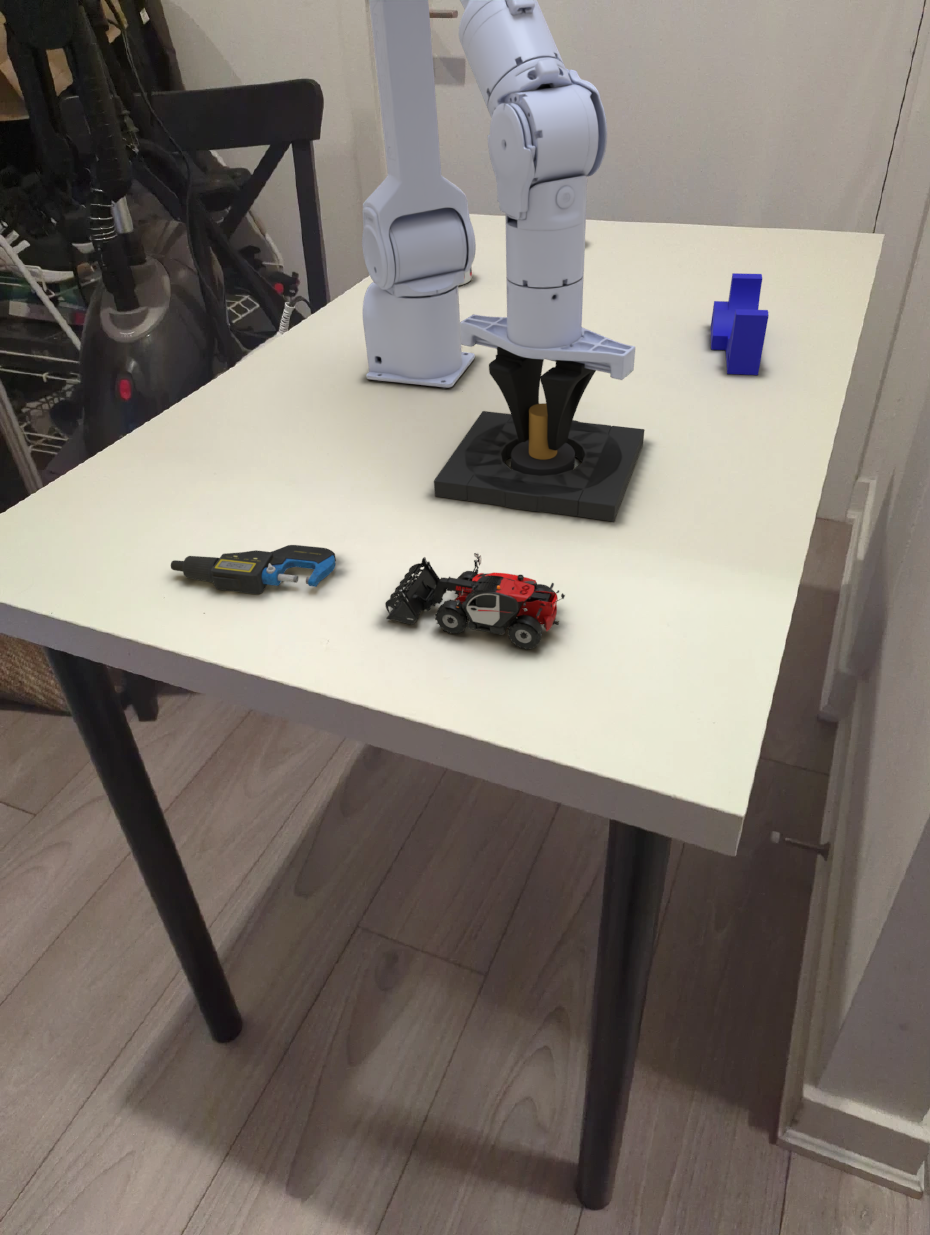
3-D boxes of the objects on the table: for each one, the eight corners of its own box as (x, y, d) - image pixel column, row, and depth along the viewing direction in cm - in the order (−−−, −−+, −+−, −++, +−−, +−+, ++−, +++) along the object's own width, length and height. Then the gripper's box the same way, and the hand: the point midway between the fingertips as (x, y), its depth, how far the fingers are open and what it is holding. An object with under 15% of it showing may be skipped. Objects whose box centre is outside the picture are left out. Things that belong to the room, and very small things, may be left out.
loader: (385, 622, 60) (378, 567, 57) (412, 583, 63) (406, 529, 60) (554, 658, 56) (555, 601, 53) (573, 615, 59) (575, 559, 56)
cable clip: (710, 328, 97) (717, 273, 93) (752, 329, 96) (761, 274, 92) (711, 373, 88) (720, 314, 84) (758, 375, 87) (768, 315, 83)
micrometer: (339, 543, 64) (315, 583, 61) (342, 564, 66) (319, 605, 62) (192, 527, 67) (161, 565, 63) (197, 547, 68) (167, 586, 64)
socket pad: (434, 497, 72) (432, 481, 71) (483, 424, 82) (483, 410, 81) (613, 523, 68) (614, 506, 67) (643, 443, 77) (645, 428, 77)
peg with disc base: (499, 471, 74) (497, 415, 71) (531, 444, 78) (531, 390, 74) (554, 487, 72) (556, 430, 68) (585, 459, 75) (588, 403, 72)
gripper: (658, 273, 64) (643, 440, 72) (491, 247, 70) (495, 403, 79) (615, 304, 59) (604, 478, 68) (441, 273, 66) (451, 436, 74)
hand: (543, 440), depth 73 cm, fingers closed on peg with disc base, 2 cm apart
